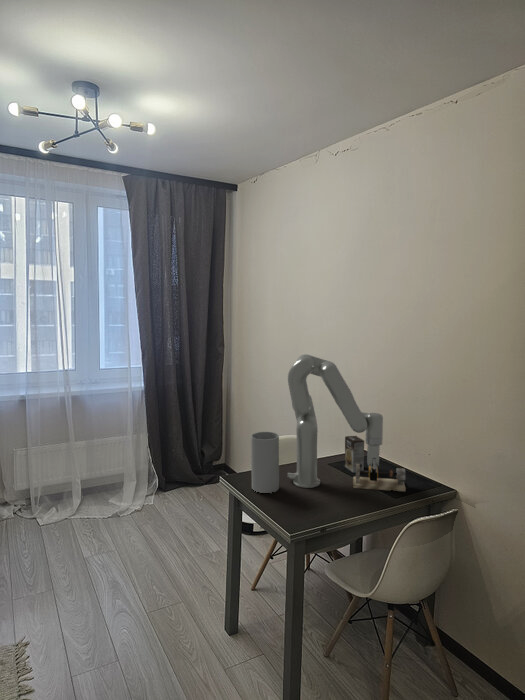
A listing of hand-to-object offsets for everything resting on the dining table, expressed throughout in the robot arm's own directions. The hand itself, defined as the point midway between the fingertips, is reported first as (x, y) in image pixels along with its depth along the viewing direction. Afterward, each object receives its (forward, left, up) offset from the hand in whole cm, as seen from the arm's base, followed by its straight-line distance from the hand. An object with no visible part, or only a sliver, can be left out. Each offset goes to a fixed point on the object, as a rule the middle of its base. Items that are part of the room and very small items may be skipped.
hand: (373, 478), depth 213 cm
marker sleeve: (0, 0, +1) cm, 1 cm away
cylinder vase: (-49, -13, -4) cm, 50 cm away
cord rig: (+2, 0, -3) cm, 4 cm away
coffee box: (-9, +19, -4) cm, 21 cm away
